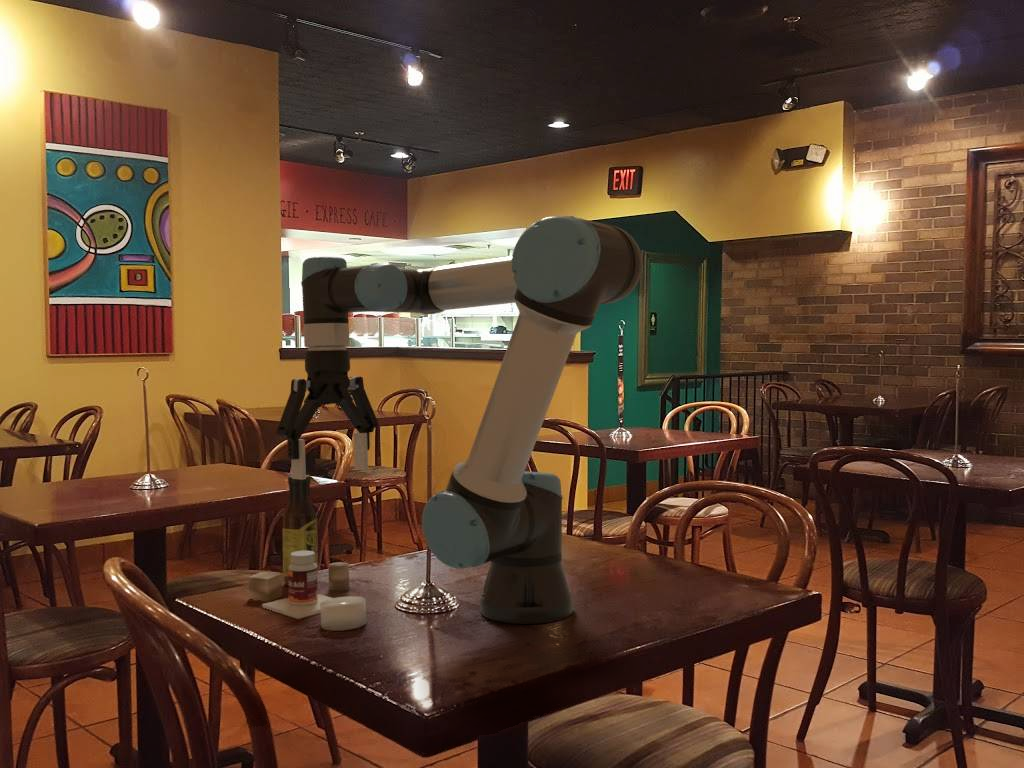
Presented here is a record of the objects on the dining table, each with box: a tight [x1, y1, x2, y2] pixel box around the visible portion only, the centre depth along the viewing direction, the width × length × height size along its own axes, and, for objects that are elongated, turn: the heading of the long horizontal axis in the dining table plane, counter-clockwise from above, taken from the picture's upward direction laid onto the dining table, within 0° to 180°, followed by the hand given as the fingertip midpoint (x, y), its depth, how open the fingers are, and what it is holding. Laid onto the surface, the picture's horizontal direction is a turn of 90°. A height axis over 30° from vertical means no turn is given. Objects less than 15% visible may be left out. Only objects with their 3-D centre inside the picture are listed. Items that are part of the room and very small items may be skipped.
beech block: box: [248, 571, 283, 603], centre depth 164 cm, size 4×4×4 cm
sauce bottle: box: [282, 474, 319, 587], centre depth 173 cm, size 6×6×20 cm
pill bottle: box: [288, 551, 319, 606], centre depth 158 cm, size 5×5×8 cm
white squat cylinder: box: [320, 595, 368, 632], centre depth 148 cm, size 7×7×4 cm
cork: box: [327, 561, 350, 593], centre depth 169 cm, size 4×4×4 cm
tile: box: [261, 593, 333, 620], centre depth 158 cm, size 10×10×1 cm
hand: (331, 474), depth 160 cm, fingers open, 13 cm apart
